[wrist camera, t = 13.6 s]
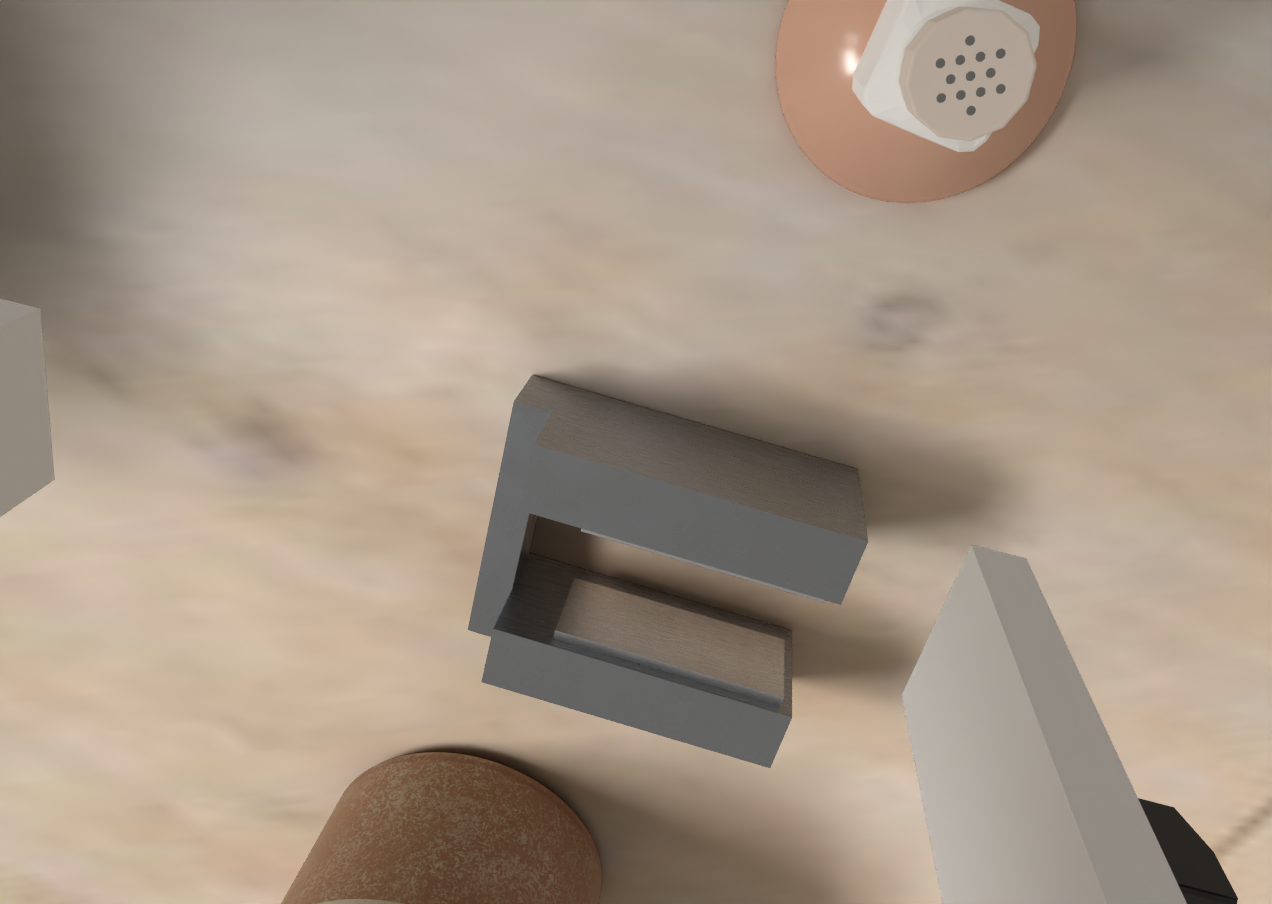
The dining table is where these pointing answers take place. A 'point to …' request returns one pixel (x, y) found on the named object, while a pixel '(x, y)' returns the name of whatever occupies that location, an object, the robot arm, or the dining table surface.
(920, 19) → the pepper shaker
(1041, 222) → the dining table surface
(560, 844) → the planter
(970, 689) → the robot arm
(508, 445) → the vise
